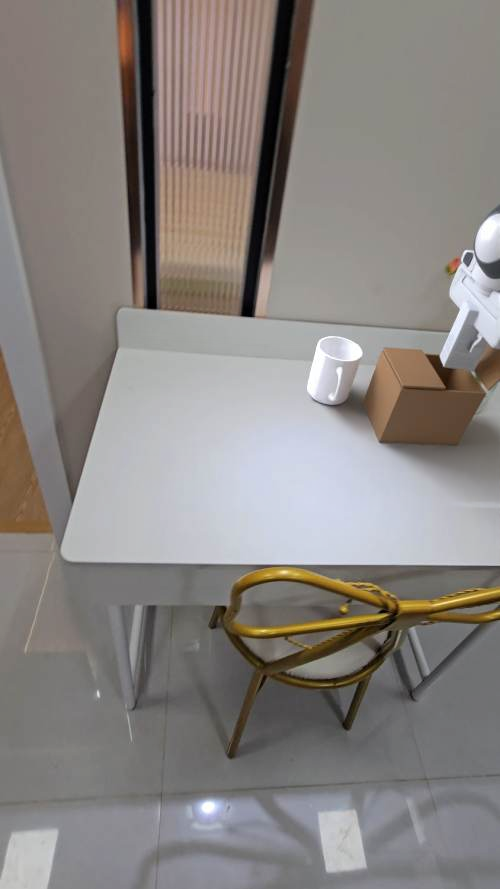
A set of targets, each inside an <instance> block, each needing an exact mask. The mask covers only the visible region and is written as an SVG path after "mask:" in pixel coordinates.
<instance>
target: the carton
mask: <svg viewBox="0 0 500 889" xmlns="http://www.w3.org/2000/svg"><path fill="white" fill-rule="evenodd" d="M379 354H380V355H379V356H378V360H377V362H376V366H375V368H374V371H373V374H372V377H371V379H370V382H369V385H368V388H367V391H366V393H365V396H364V398H363V402H362V404H363V406H364V409H365V411H366V413H367V416H368V418H369V421H370V423H371V426H372V429H373V431H374V434H375V436H376V439H377V441H378V443H385V444H409V445H410V444H412V445H435V446H436V445H438V446H439V445H441V446H443V445H444V446H458V444H459V442H460V441H461V439H462V437H463V435H464V434H465V432H466V430H467V429H468V427H469V425H470V423H471V421H472V420H473V418H474V416H475V414H477V411H478V409H479V407H480V406H481V405H482V402H483V401H484V399H485V397H486V395H487V392H486V391H485V389H484V388H483V387H482V385H481V384H480V383H479V381H478V380H477V378H476V377H475V376H474V374H473V373H472V371H466V370H460V369H453V368H446V367H443V364H442V361H441V359H440V354H441V353H425V352H424V351H423V349H415V348H399V347H386V346H384V347H382V350H381V352H380V353H379Z"/></svg>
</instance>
